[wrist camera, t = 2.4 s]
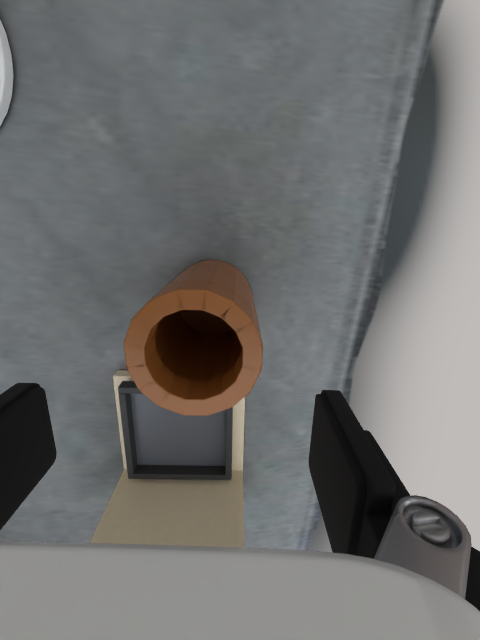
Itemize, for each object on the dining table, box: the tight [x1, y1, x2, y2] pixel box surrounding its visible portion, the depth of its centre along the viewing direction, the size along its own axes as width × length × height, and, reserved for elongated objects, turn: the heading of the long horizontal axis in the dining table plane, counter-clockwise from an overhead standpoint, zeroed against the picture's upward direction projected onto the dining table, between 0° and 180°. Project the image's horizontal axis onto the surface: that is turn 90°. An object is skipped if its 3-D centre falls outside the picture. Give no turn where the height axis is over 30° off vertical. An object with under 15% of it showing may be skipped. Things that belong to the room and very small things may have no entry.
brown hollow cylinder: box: [124, 260, 263, 416], centre depth 21 cm, size 7×7×12 cm
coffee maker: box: [90, 370, 245, 547], centre depth 19 cm, size 16×12×24 cm
